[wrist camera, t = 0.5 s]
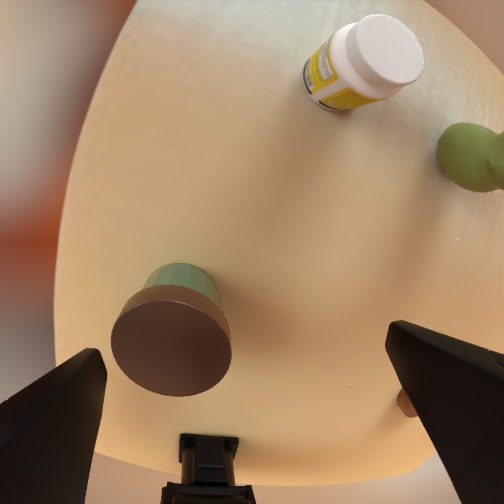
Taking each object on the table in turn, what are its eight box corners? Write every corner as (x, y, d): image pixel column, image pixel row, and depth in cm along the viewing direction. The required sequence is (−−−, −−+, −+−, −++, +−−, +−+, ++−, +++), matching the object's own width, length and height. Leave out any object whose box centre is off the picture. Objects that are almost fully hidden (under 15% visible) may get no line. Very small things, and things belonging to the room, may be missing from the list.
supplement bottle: (372, 89, 19) (443, 67, 11) (332, 124, 19) (397, 111, 11) (330, 42, 17) (386, -4, 9) (286, 74, 18) (329, 30, 10)
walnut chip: (221, 381, 19) (223, 402, 17) (121, 367, 18) (114, 386, 16) (238, 292, 17) (241, 309, 15) (118, 275, 16) (107, 290, 14)
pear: (449, 195, 22) (534, 222, 13) (416, 157, 21) (510, 170, 11) (472, 150, 21) (554, 162, 11) (441, 110, 19) (530, 107, 10)
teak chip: (425, 403, 31) (432, 412, 29) (388, 410, 30) (394, 421, 28) (449, 364, 29) (458, 372, 27) (413, 368, 28) (421, 378, 26)
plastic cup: (213, 334, 23) (214, 374, 19) (143, 324, 22) (129, 362, 18) (224, 268, 22) (226, 300, 17) (146, 257, 21) (128, 286, 16)
